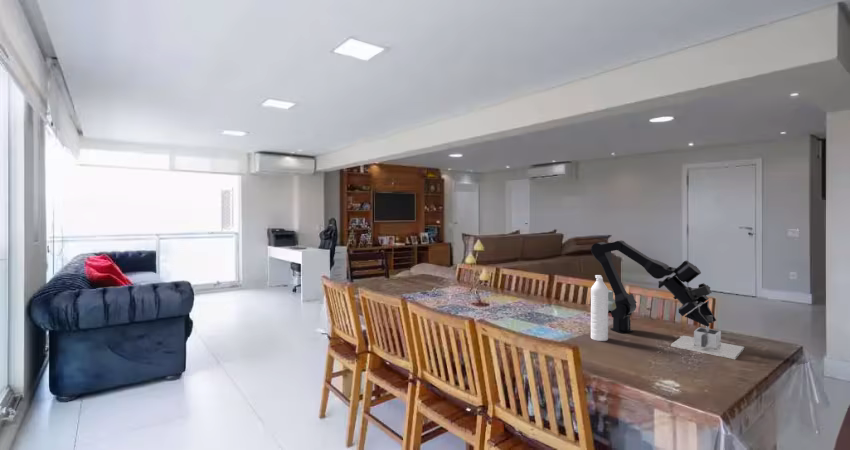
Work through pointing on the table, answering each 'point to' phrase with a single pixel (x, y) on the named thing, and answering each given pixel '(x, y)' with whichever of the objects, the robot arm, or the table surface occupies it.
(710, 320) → the plunger
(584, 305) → the table surface
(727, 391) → the table surface
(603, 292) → the water bottle
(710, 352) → the white socket holder tray
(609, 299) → the air freshener
